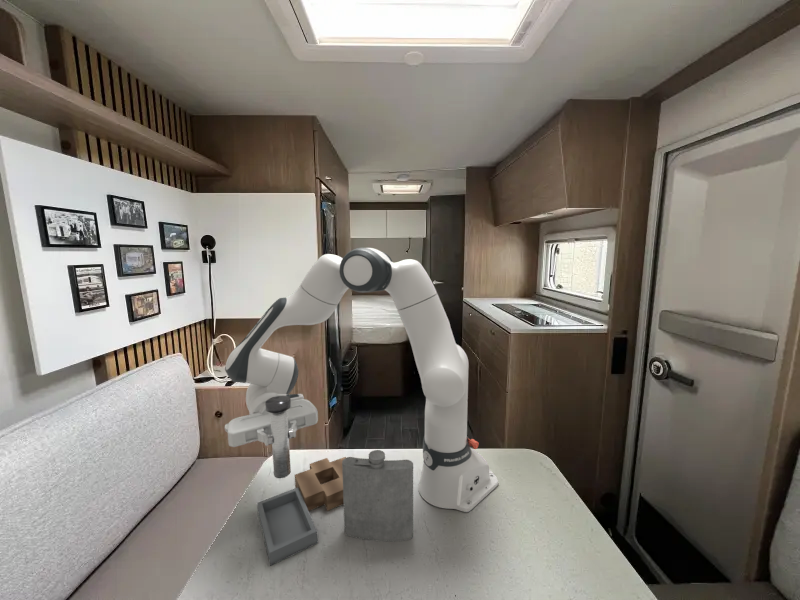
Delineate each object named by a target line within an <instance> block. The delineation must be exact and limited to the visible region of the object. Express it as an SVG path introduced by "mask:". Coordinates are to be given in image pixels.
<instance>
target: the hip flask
mask: <svg viewBox="0 0 800 600" xmlns="http://www.w3.org/2000/svg"><path fill="white" fill-rule="evenodd" d="M385 459H386V454H385V452H384V451H383V450H380V449H375V450H372V451H370V452H369V453H368V458H359V457H353V456H348V457H346V458H345V459H343V461H342V473H343V502H344V504H343V524H344V525H343V526H344V529H343V530H344V534H345V536H347V537H349V538H350V537H352V538H356V539H360V540H367V541H377V542H400V541H401V542H402V541H409V540H411V539H412V538H413V536H414V462H413V461H412V460H410V459H396V460H395V459H394V460H385Z"/></svg>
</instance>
